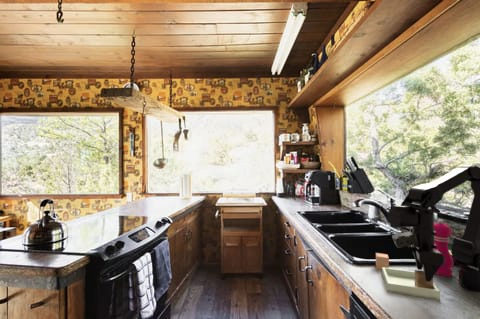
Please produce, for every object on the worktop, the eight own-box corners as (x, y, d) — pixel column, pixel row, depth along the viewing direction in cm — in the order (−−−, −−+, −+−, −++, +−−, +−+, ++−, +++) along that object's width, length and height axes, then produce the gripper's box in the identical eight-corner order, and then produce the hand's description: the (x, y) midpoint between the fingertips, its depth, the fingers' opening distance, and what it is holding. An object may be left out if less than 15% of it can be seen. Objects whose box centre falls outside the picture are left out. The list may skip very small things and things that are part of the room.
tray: (426, 280, 88) (426, 273, 88) (440, 300, 75) (440, 291, 75) (382, 274, 93) (382, 267, 93) (388, 291, 80) (387, 283, 80)
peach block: (387, 267, 99) (387, 254, 99) (388, 271, 96) (388, 257, 96) (375, 265, 101) (375, 253, 101) (377, 269, 97) (376, 256, 97)
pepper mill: (431, 274, 93) (430, 220, 93) (427, 267, 99) (426, 216, 100) (456, 278, 89) (455, 222, 90) (450, 270, 96) (450, 218, 96)
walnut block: (429, 287, 82) (429, 271, 82) (433, 293, 78) (433, 276, 78) (414, 284, 83) (414, 269, 83) (418, 290, 80) (417, 274, 80)
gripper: (389, 218, 93) (389, 260, 92) (399, 230, 75) (400, 283, 75) (425, 221, 88) (426, 265, 88) (445, 234, 71) (446, 290, 71)
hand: (423, 274), depth 81 cm, fingers open, 9 cm apart
